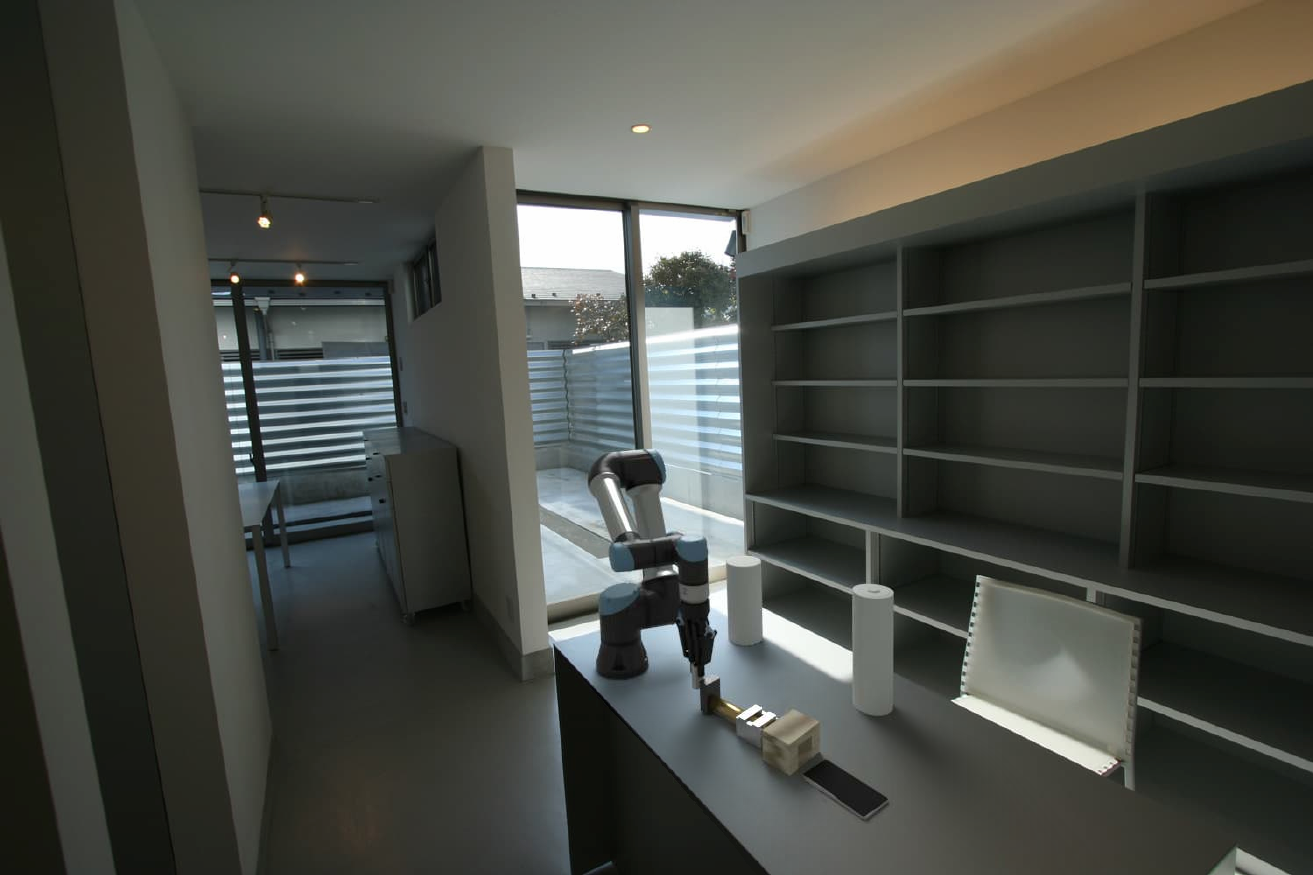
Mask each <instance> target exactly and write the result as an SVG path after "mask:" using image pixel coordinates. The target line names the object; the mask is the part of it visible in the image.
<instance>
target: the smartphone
mask: <svg viewBox="0 0 1313 875" xmlns="http://www.w3.org/2000/svg"><path fill="white" fill-rule="evenodd" d="M802 777H803V780H804V781H805V782H807V783H809V785H811V786H812V787H814V788H815V789H817V790H818V791H820V792H822V793H823V794H825V795H826V796H828V797H829V798H831V799H832V800H834V801H835V802H837V803H838V804H840V805H841V806H842V807H844V808H846V809H847V810H849V811H850V812H851V813H853V814H855V815H856V816H858V817H859V818H860V819H862V820H864V821H866V820H868V819H869V818H871V817H872V816H873V815H874V814H875V813H876V812H878V811H880V809H881V808H883V807H884V806H885V805H887V804H888V803H889V798H888V797H887V796H885V795H884V794H882V792H879V791H877V790H876V789H874V788H873V787H871V786H869V785H868V784H866V783H865V782H864V781H862V780H860V779H858V778H857V777H856V776H854V775H852V774H851V773H850V772H848V771H846V770H844V769H843V768H841V767H839V765H836V764H835V763H833V762H832V761H830V760H828V759H823V760H822V761H820V762H818V763H816V764H815V765H814V766H812V767H811V768H809V769H808V770H806V771H805V772H804V773H803V776H802Z"/></svg>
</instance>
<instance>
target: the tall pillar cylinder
mask: <svg viewBox="0 0 1313 875" xmlns="http://www.w3.org/2000/svg"><path fill="white" fill-rule="evenodd" d="M725 569H726V571H725V572H726V575H725V576H726V602H727V603H726V604H727V605H726V606H727V636H728V638H727V639H728V640H729V641H730V642H731V643H732V642H733V643H732V644H734V645H737V646H741V647H742V646H743V647H747V646H748V645H751V646H755V645H754V644H756V643H758V642H760V641H761V640H762V639H764V636H763V635H764V634H763V633H764V631H763V630H764V628H763V627H764V626H763V590H762V588H763V587H762V586H763V584H762V580H763V579H762V561H761V559H760V558H759V557H756V556H752V555H744V554H743V555H734V556H730V557H728V558H727V559H726V561H725ZM762 641H763V640H762ZM762 641H761V642H762ZM761 642H760V643H761ZM758 644H759V643H758ZM745 645H746V646H745ZM756 645H757V644H756ZM748 647H749V646H748Z"/></svg>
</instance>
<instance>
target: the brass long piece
mask: <svg viewBox="0 0 1313 875" xmlns="http://www.w3.org/2000/svg"><path fill="white" fill-rule="evenodd" d="M699 701H700V703H699V704H700V711H701V712H702V713H703V714H705V715H708V716H709V715H710V714H711V713H715V714H717V715H719V716H721V717H723V718H725V719H726V720H728V721H730V722H731V723H732V724H733V723H734V725H737V724H736V717H738V716H739V715H740V714H742V713H743V712H745V711H746V710H744V709H743V708H741V707H738V706H737V705H735V704H733V703H731V702H730V701H727V700H726V699H724V698H722V696H721V677H719V676H718V675H715V674H713V673H712V674H711V675H709V676H707V677H705V678H704V679H703V680H701V681H700V689H699ZM757 719H759V718H758V717H756V716H753V717H752V718H750V719H749V720H748V721H750V722H752V723H753V722H754V721H756V720H757ZM768 726H769V724H766V725H765V726H763V727H762V728H763V729H765V728H766V727H768Z"/></svg>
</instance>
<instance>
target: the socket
mask: <svg viewBox="0 0 1313 875" xmlns="http://www.w3.org/2000/svg"><path fill="white" fill-rule="evenodd" d="M820 723H821V722H820V721H818V720H816V719H814V718H812V717H810V716H808V715H806V714H804V713H802V712H800V711H797V710H796V709H794V708H793V709H791V710H789V711H788V712H787V713H785V714H784V715H783V716H781V717H778V720H776V721H775V722H773V723H772V724H771V725H769V726H768V727H766V728H765V729H763V730H762V733H763V749H762V760H763V761H764V762H766V763H767V764H769V765H771V766H772V767H774V768H776V769H778V770H779V771H781V772H782V773H784V774H786V775H788V776H789V777H791V776H792V775H793V774H794V773H795V772H796V771H798V769H800V768H801V767H803V766H804V765H805V764H806V763H807V762H809V761H811V760H812V759H813V758H814V757H815V756H817V754H819V753H821V742H820V741H821V736H820V735H821V734H820V733H821V730H820V728H821V727H820Z"/></svg>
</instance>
